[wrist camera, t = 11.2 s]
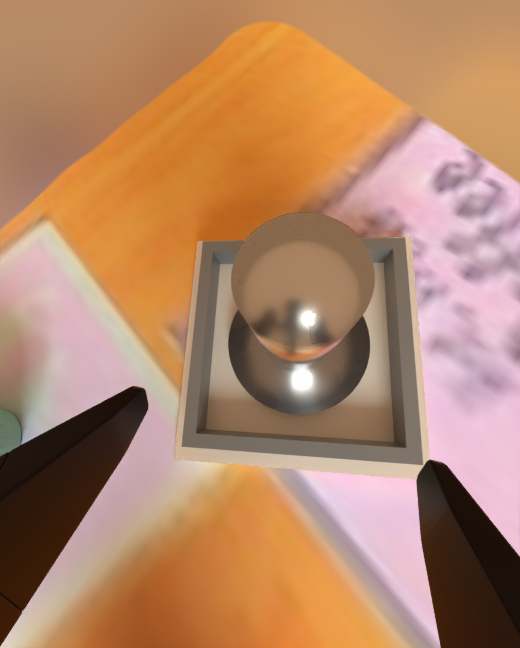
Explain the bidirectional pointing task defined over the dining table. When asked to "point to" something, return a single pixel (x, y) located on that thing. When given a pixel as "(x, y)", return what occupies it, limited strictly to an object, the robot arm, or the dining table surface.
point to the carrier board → (317, 428)
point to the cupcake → (9, 432)
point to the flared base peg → (301, 312)
